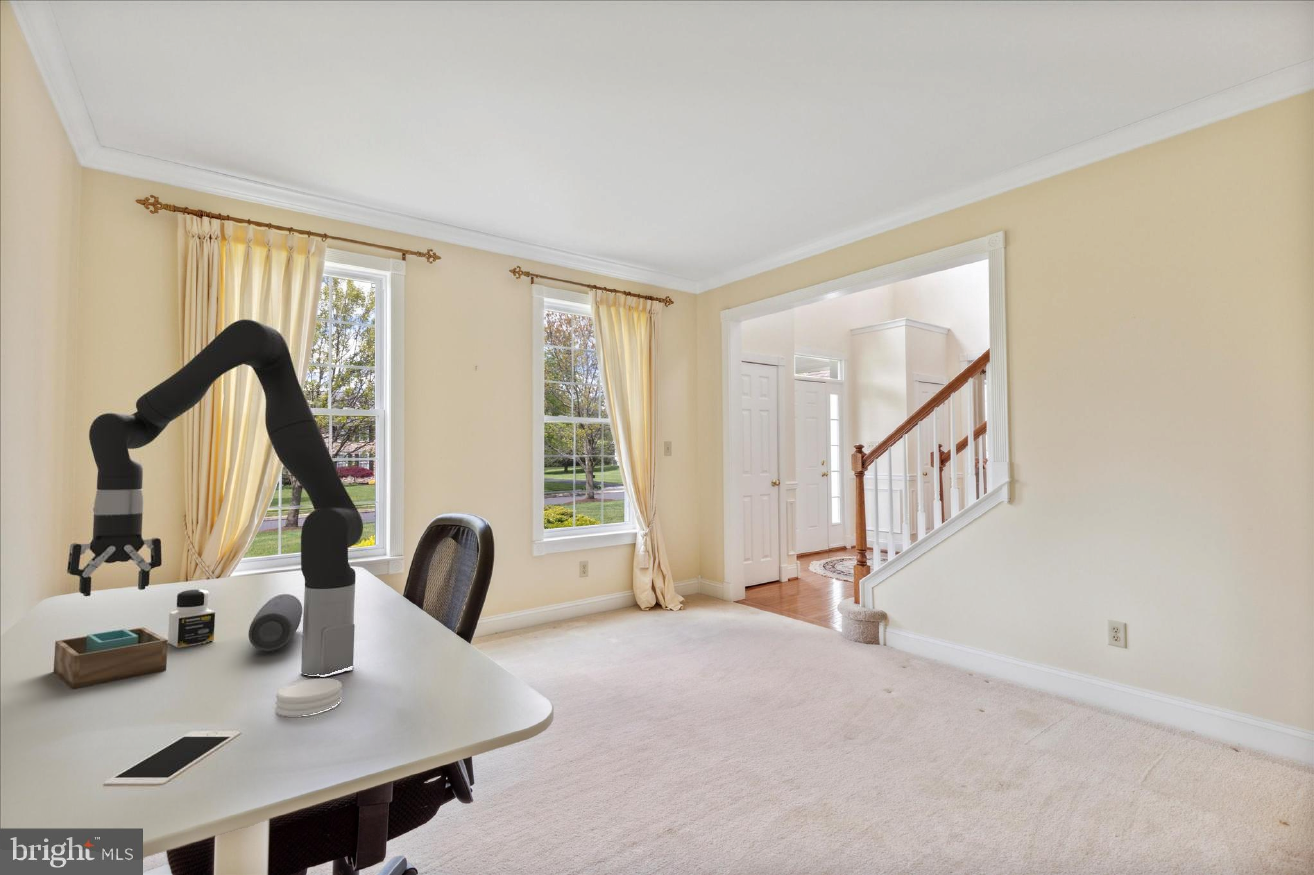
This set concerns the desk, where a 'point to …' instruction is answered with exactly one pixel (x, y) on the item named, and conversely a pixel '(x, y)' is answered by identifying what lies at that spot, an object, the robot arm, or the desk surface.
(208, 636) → the medicine bottle
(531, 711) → the desk surface
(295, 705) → the coaster
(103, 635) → the small teal crate
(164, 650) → the walnut crate
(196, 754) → the cell phone
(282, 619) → the bluetooth speaker
